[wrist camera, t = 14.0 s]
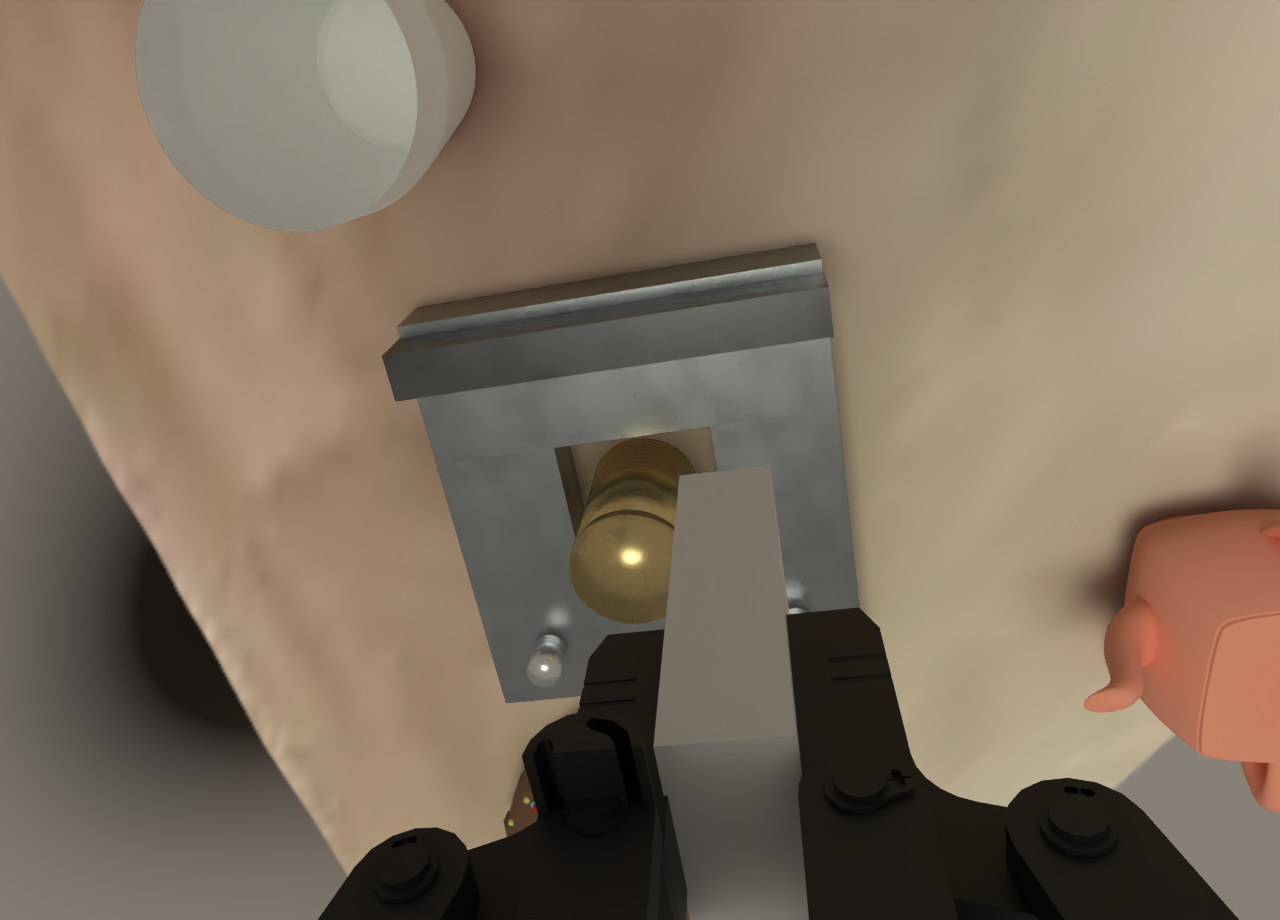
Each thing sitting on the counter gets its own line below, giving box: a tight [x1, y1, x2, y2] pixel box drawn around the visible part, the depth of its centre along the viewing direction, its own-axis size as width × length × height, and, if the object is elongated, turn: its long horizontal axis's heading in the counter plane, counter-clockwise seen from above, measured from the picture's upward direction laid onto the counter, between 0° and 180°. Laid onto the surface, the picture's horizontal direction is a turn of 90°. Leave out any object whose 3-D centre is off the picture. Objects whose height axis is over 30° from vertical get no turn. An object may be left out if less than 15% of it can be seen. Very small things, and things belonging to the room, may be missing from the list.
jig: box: [382, 243, 859, 703], centre depth 45 cm, size 20×18×5 cm
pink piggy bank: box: [1084, 509, 1280, 812], centre depth 43 cm, size 14×12×10 cm
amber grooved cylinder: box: [569, 439, 695, 624], centre depth 44 cm, size 5×5×8 cm
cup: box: [135, 0, 476, 232], centre depth 35 cm, size 9×9×12 cm
